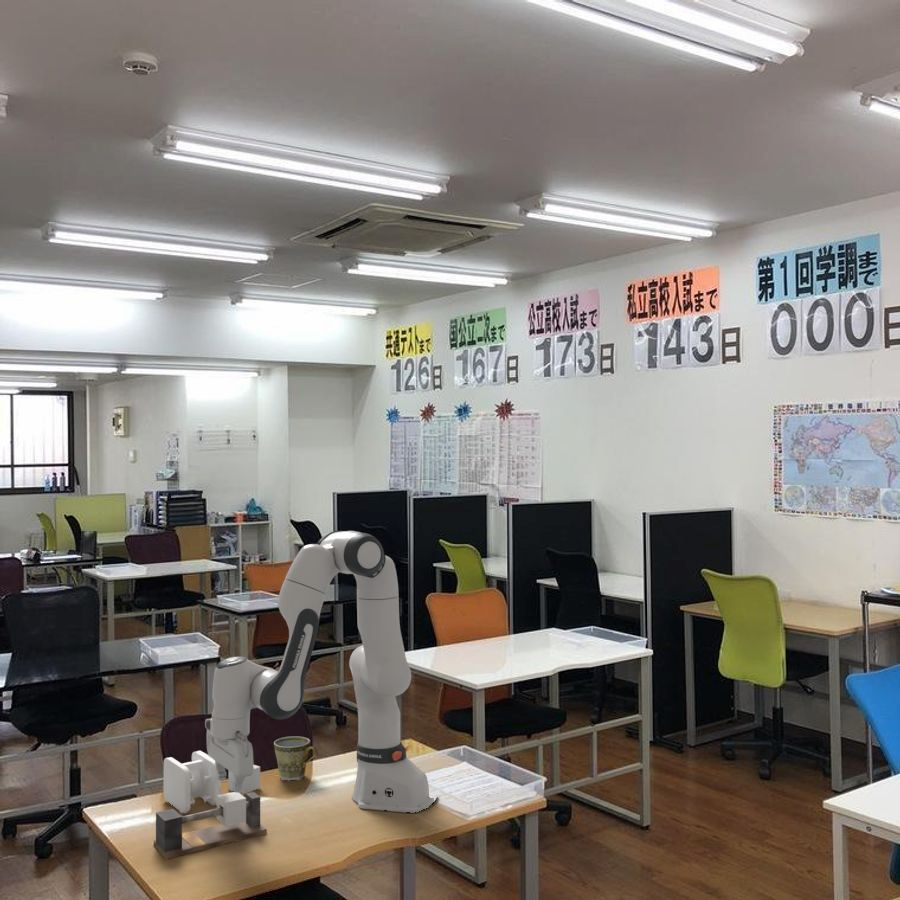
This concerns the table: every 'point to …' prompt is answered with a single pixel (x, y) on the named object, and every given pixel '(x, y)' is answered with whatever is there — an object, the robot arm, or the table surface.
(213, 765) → the cable organizer
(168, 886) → the table surface
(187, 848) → the rail
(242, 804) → the white cube
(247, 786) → the light gray cube
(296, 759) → the ceramic cup
